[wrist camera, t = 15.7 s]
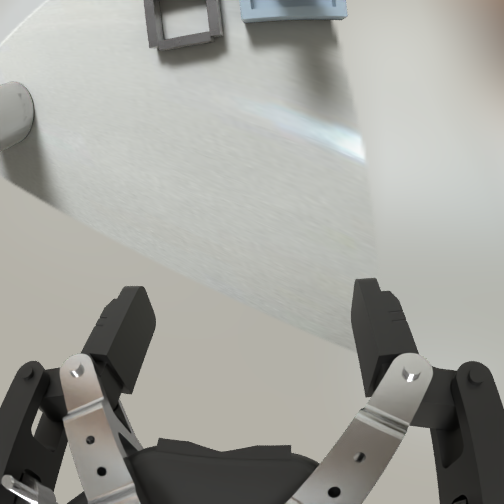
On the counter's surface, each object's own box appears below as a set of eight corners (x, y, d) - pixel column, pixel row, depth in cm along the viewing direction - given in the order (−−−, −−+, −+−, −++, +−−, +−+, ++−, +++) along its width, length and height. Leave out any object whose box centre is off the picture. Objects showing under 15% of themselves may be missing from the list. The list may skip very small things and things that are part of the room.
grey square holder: (156, 52, 29) (150, 52, 27) (149, -6, 25) (142, -9, 23) (223, 40, 28) (220, 39, 26) (216, -21, 24) (213, -25, 22)
